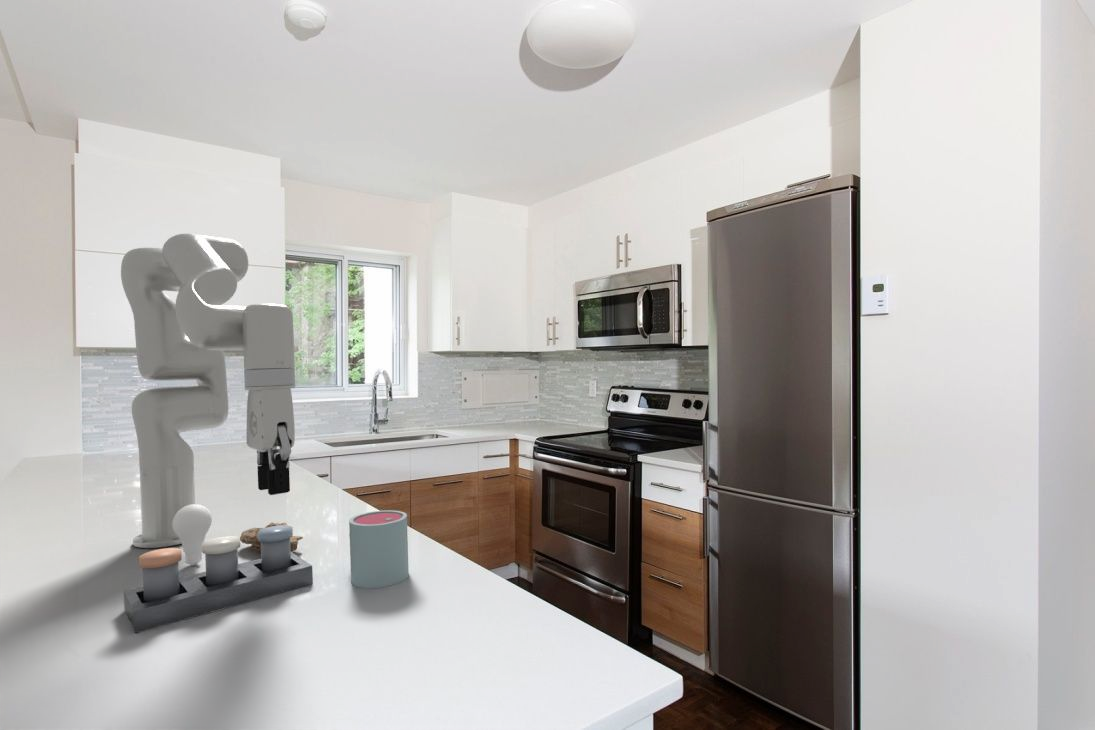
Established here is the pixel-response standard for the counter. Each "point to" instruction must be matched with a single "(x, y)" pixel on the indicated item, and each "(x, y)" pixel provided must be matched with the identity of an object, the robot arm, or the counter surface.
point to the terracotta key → (160, 573)
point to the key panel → (214, 593)
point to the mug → (378, 548)
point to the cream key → (221, 559)
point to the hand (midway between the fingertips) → (273, 489)
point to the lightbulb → (192, 530)
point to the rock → (252, 538)
